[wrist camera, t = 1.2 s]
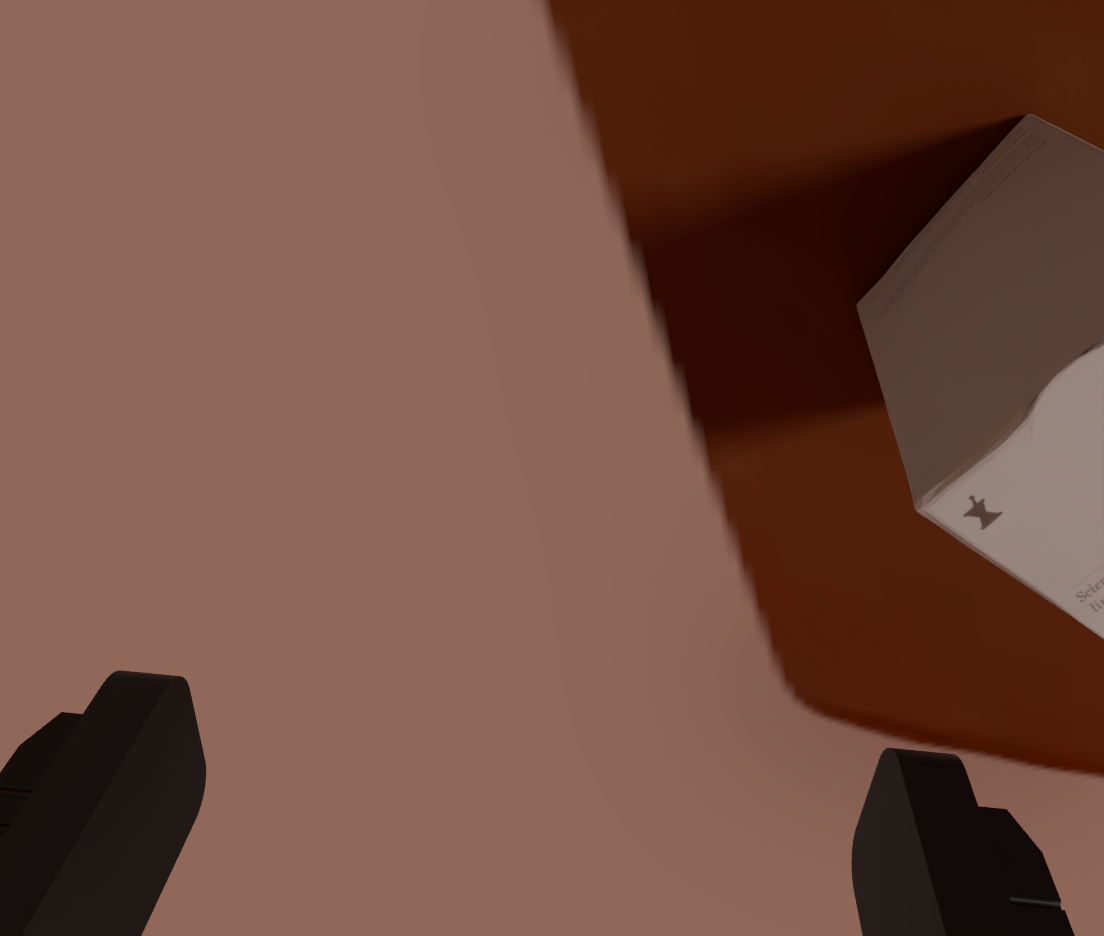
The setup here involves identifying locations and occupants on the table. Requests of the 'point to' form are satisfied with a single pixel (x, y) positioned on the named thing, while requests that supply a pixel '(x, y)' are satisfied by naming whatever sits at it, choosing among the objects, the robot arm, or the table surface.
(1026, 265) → the skincare box
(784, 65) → the table surface
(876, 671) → the table surface
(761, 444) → the table surface
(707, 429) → the table surface
